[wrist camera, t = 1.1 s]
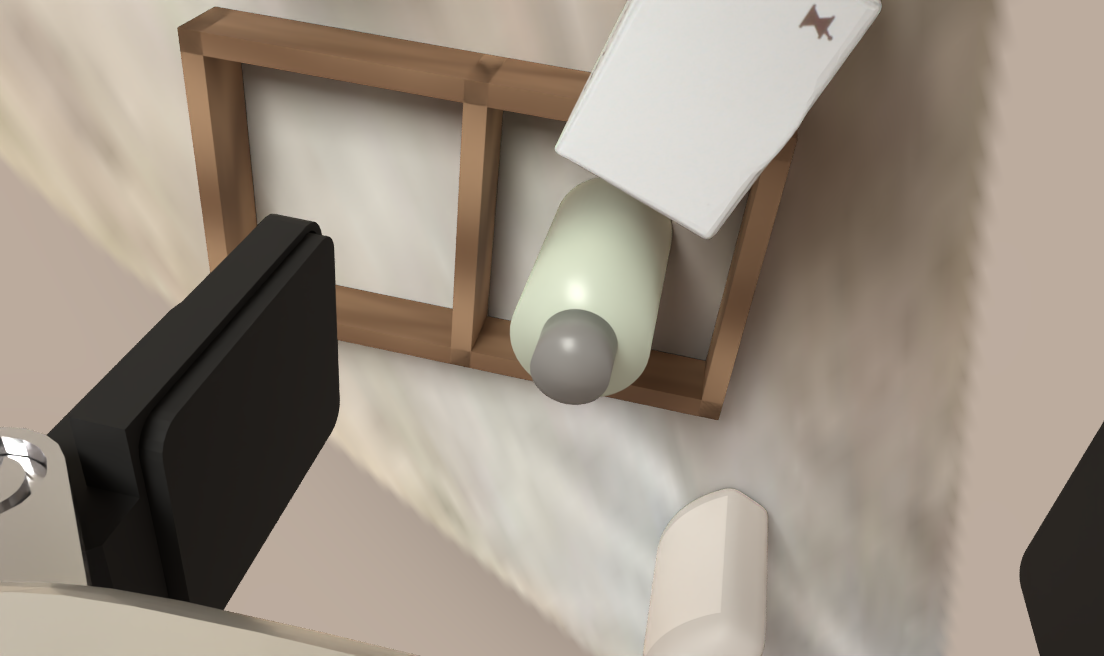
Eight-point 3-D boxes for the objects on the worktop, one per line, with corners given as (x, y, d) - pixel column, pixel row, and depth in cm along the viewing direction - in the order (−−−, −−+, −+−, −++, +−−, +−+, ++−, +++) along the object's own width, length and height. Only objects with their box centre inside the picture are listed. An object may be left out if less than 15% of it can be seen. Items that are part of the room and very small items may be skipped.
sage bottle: (561, 166, 33) (502, 296, 26) (682, 188, 33) (655, 327, 26) (549, 269, 36) (492, 412, 29) (661, 291, 35) (631, 442, 28)
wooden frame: (214, 6, 32) (177, 27, 30) (796, 108, 30) (797, 138, 28) (244, 281, 39) (215, 314, 37) (721, 380, 37) (718, 420, 35)
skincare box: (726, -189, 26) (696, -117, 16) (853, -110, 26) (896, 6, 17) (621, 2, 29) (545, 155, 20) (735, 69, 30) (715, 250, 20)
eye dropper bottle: (635, 504, 42) (592, 748, 32) (754, 478, 40) (746, 732, 30) (673, 568, 44) (643, 817, 34) (788, 547, 42) (791, 807, 32)
